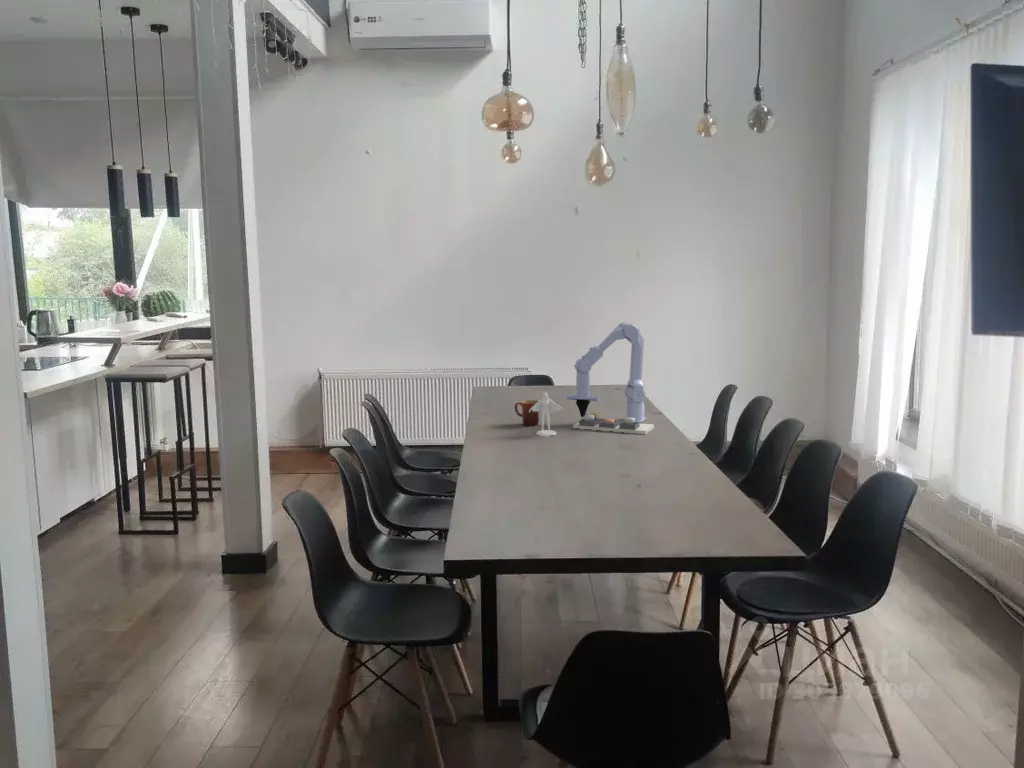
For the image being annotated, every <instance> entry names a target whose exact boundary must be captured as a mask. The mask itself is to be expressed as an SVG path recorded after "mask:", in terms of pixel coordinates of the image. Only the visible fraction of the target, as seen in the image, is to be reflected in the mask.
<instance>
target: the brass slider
mask: <svg viewBox="0 0 1024 768" xmlns="http://www.w3.org/2000/svg"><path fill="white" fill-rule="evenodd" d="M589 414H591V415H595V419H598V418H599V419H600V412H599V411H592V412H590V413H589Z"/></svg>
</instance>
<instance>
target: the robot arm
mask: <svg viewBox="0 0 1024 768" xmlns="http://www.w3.org/2000/svg"><path fill="white" fill-rule="evenodd" d="M625 339H626V341H628V342H629V343H630V344H631V349H630V350H631V351H630V367H629V369H630V370H629V379H628V381H627V385H626V388H625V389H624V394H625V397H627V398H626V417H633V418H635V422H640V424H642V423H643V422H644V421H645V420H647V417H645V410H646V409H645V403H644V400H645V396H646V391H645V389H644V387H645V386H644V383H643V381H642V378H643V377H642V376H643V360H644V347H645V343H644V342H645V340H644V338H643V336H642V334H641V331H640V328H639V327H637V325H635V324H634V323H628V322H625V321H624V322H621V323H619V324H618V326H616V327H614V329H613V330H612V331H611V332H610V333H609V334H608V335H607V337H606V338H604V339H603V341H602V342H601V343H600V344H599V345H596V346H593V347H590V348H589V349H588V350H589V351H587V352H586V353H585V354H583V355H581V358H579V359H577V360H576V361H575V364H574V365H573V366H574V369H575V371H576V376H575V377H576V379H575V380H576V382H575V383H576V394H567V395H566V400H567V401H569V400H570V401H575V404H576V406H577V408H578V411H579V414H580V417H581V418H584V415H587V410H588V407H589V405H590V403H591V402H600V396H597V395H596V396H595V395H590V371H591V370H592V366H594V365H595V364H596V363H597V362H598V361H599V360H601V358H603V355H604V352H605V351H606V350H607V349H608V348H609V347H611V346H612V345H613V344H614V343H616V341H619V340H625Z"/></svg>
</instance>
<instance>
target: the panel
mask: <svg viewBox="0 0 1024 768" xmlns="http://www.w3.org/2000/svg"><path fill="white" fill-rule="evenodd" d="M604 419H605V418H600V417H599V418H598V419H595V421H594V422H590V421H584V417H582V419H580V420H579V421H578V422H576V423H575V424H573V425H572V429H573V428H580V429H579V430H584V429H592V430H591V431H596V430H602V431H601V432H609V431H613V432H612V433H621V432H624V434H633V433H635V434H636V433H637V435H647V434H648V433H650V432H651V431H652V430H653V429H655V424H651V423H640V422H635V425H630V424H624V419H614V420H615V423H604ZM649 431H650V432H649Z"/></svg>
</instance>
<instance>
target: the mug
mask: <svg viewBox="0 0 1024 768" xmlns="http://www.w3.org/2000/svg"><path fill="white" fill-rule="evenodd" d="M538 401H539V400H533V399H525V400H521V401H519V402H516V403H515V404H514V410H515V413H516V415H517V416H518V417H521V418H522V419H521V422H522V425H524V426H525V425H526V427H535V426H534V425H536V426H537V425H538V424H539V422H540V413H539V412H540V411H537V412H534V411H532V409H531V408H532V407H533V406H534V405H535V404H536V403H537V402H538ZM518 405H520V406H521V409H522V411H521V413H520V412H519V410H518ZM530 409H531V411H530V413H529V410H530Z"/></svg>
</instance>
